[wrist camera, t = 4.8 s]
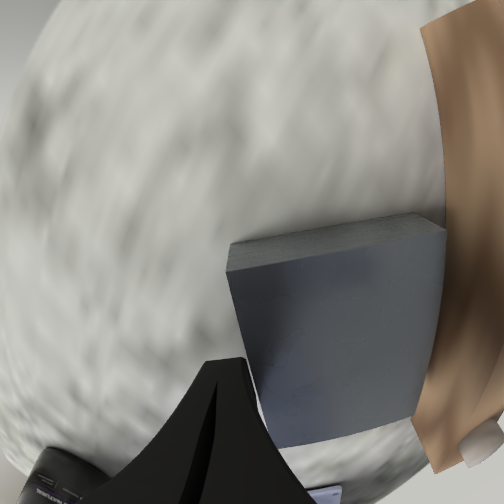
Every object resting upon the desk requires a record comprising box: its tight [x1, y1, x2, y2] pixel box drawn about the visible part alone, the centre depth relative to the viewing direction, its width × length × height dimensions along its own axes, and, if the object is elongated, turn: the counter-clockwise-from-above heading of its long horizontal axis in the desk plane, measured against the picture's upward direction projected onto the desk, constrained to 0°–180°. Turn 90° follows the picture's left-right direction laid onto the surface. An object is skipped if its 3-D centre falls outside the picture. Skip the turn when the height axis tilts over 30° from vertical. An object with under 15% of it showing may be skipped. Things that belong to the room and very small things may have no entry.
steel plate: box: [226, 212, 447, 449], centre depth 9 cm, size 8×6×2 cm
